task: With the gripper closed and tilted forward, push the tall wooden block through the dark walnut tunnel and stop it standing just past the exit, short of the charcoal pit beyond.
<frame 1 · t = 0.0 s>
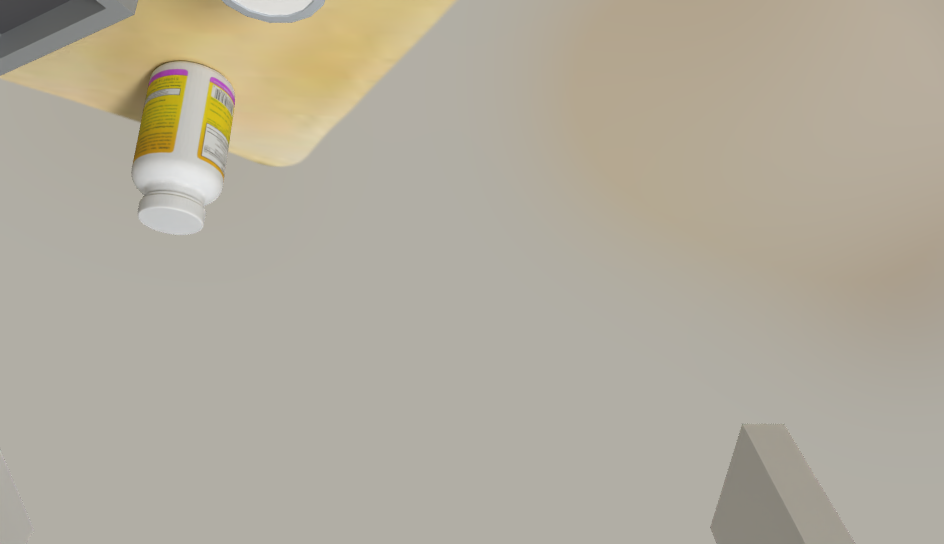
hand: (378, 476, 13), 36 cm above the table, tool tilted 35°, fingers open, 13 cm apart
supplement bottle: (195, 82, 58), on the table
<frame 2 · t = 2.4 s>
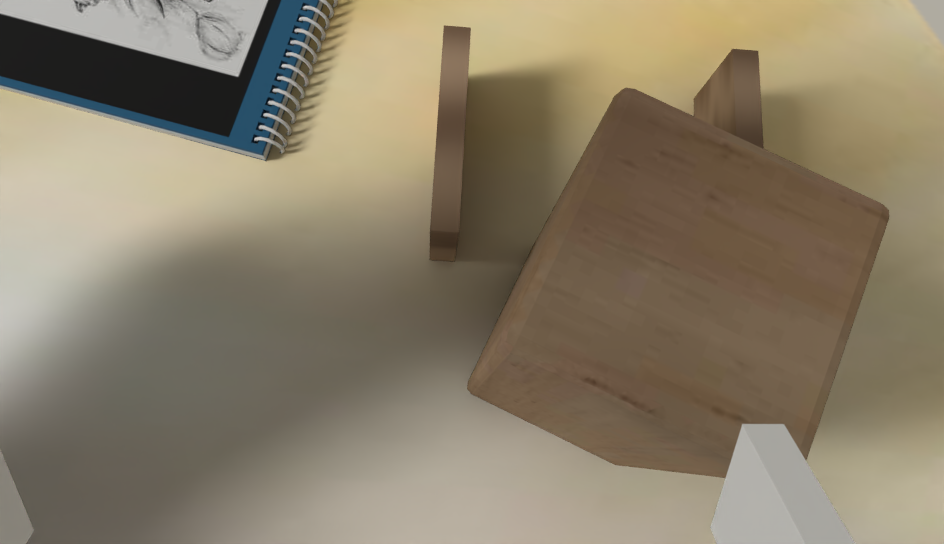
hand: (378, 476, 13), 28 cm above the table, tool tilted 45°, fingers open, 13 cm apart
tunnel: (579, 176, 44), on the table
wooden block: (575, 351, 42), on the table
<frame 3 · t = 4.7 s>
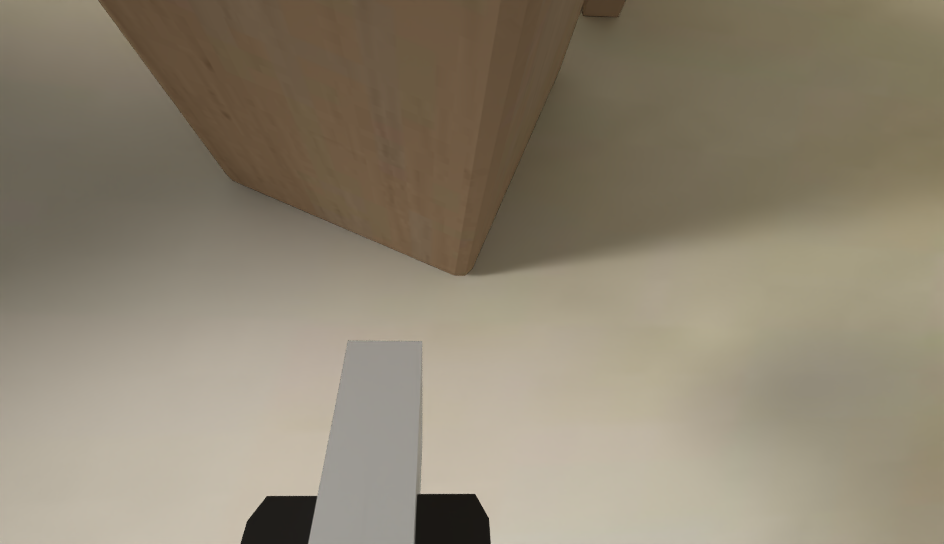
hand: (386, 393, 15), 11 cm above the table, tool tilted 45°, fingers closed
wooden block: (399, 122, 28), on the table
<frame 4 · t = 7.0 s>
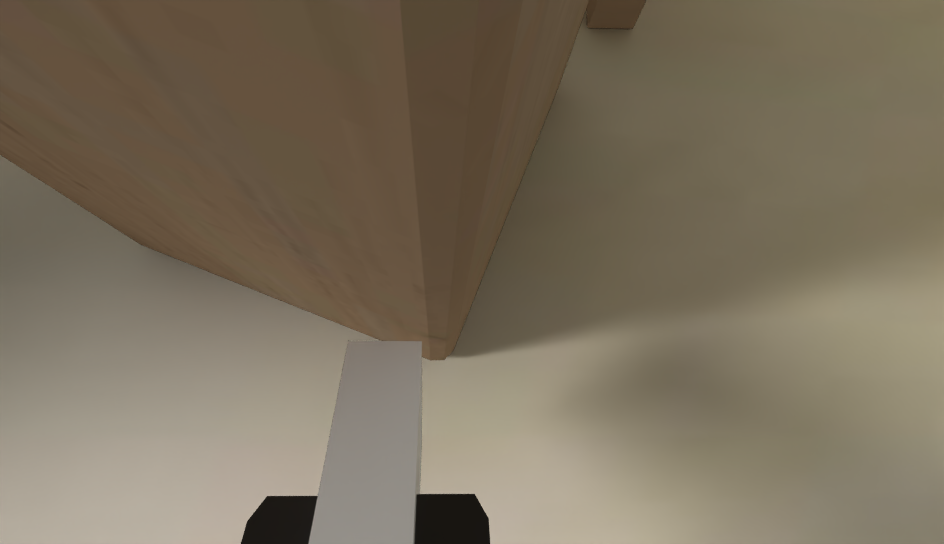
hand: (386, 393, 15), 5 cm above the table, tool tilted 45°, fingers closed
wooden block: (357, 159, 22), on the table, touching gripper
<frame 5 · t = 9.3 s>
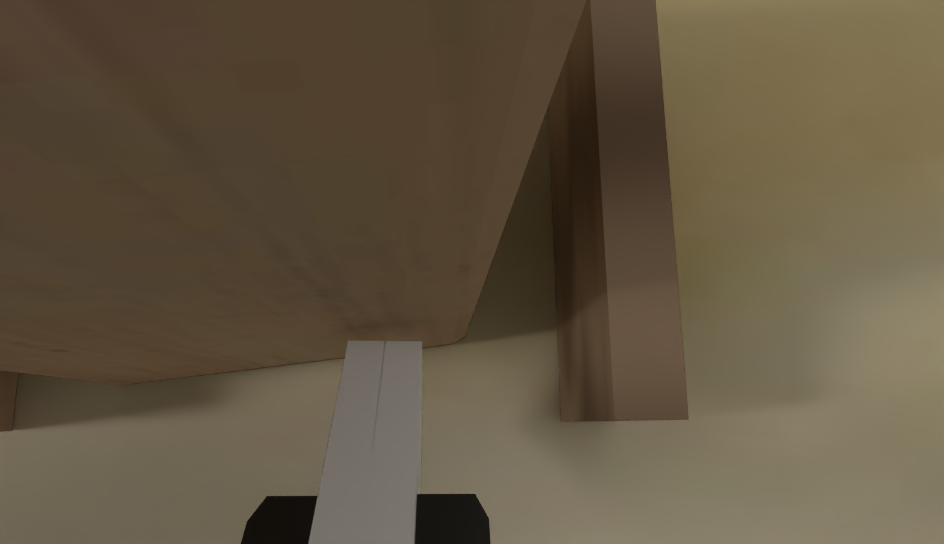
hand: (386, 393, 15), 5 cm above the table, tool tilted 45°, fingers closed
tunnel: (299, 217, 21), on the table
wooden block: (281, 199, 21), on the table
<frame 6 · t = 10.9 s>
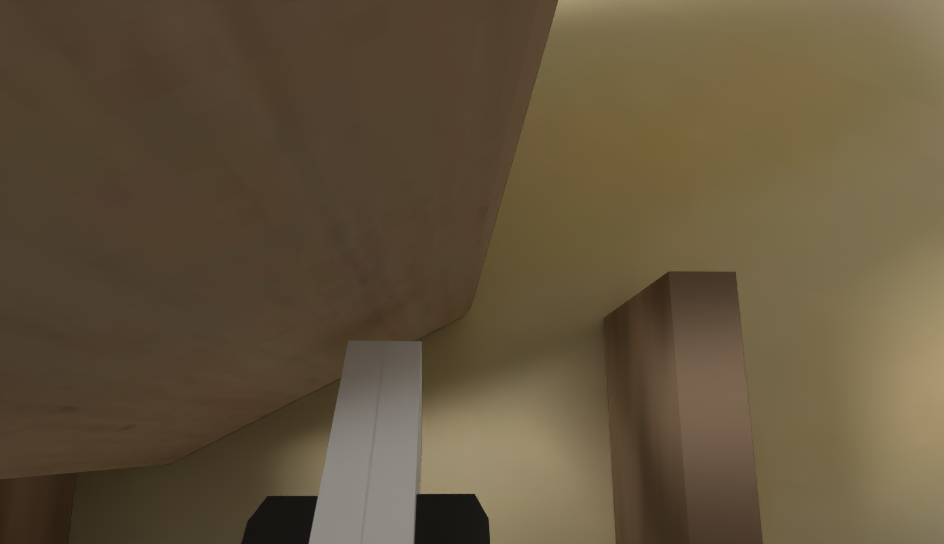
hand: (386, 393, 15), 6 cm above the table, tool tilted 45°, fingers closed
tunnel: (347, 532, 19), on the table
wooden block: (255, 242, 21), on the table, touching gripper
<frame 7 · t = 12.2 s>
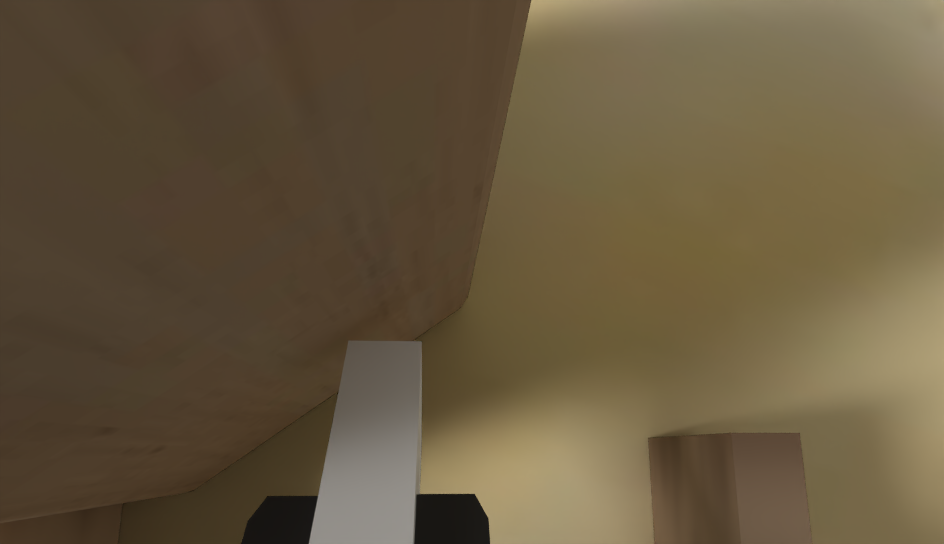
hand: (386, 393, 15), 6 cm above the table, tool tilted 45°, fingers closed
wooden block: (247, 263, 22), on the table, touching gripper
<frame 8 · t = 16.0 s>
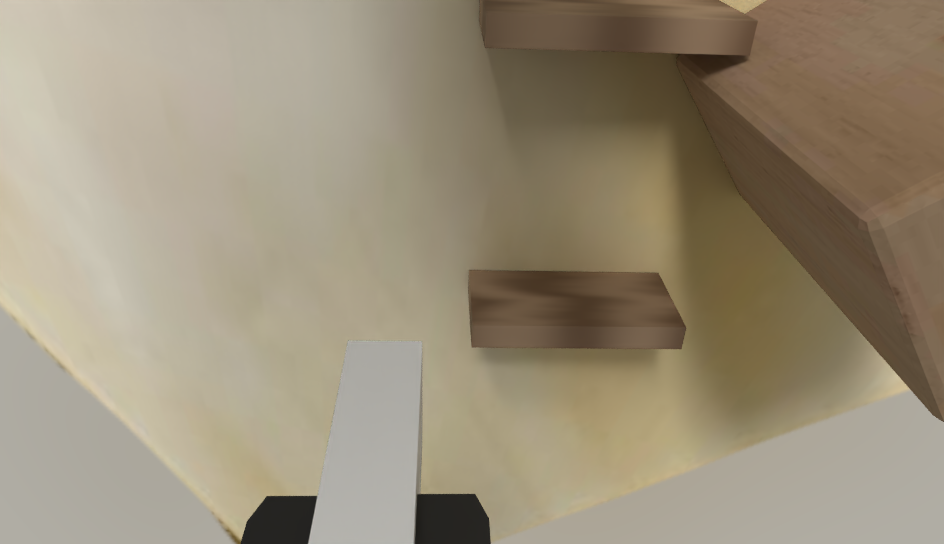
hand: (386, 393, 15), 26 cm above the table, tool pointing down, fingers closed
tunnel: (577, 159, 40), on the table
wooden block: (789, 81, 39), on the table
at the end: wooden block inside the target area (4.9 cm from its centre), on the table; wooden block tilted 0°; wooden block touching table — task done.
